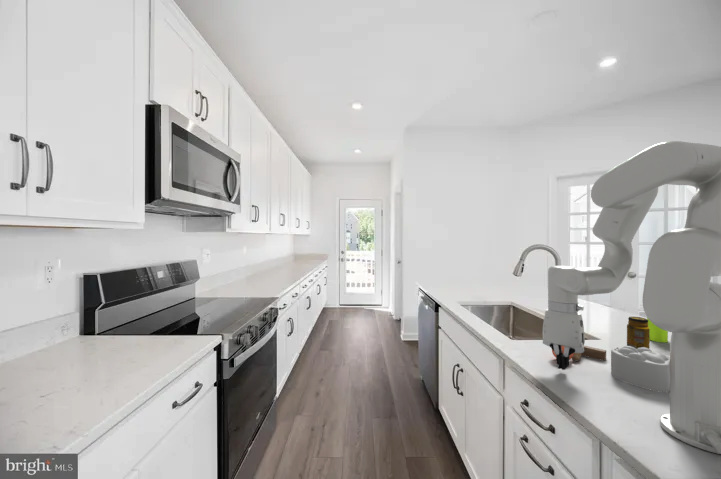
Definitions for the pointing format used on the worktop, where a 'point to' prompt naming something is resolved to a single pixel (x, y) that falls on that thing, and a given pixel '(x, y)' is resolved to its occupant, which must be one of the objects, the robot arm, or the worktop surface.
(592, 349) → the wall
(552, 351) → the ball
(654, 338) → the soap dispenser
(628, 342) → the condiment
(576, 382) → the worktop surface
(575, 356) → the pin
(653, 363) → the paw print mold
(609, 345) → the worktop surface
